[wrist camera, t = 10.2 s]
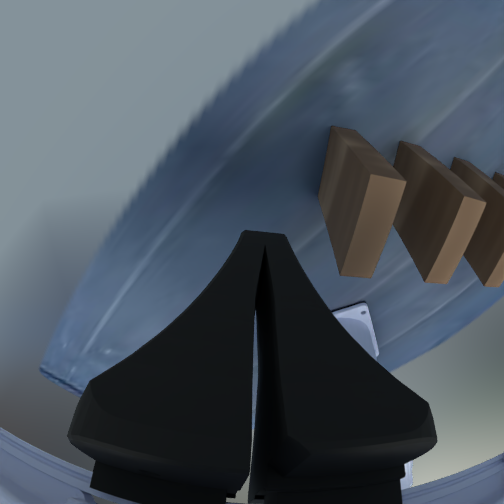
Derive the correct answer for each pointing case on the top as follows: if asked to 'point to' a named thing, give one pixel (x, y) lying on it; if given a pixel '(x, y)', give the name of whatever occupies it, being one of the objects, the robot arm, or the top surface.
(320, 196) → the domino
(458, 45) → the top surface
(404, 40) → the top surface
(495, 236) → the domino
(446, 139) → the top surface
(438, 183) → the domino
